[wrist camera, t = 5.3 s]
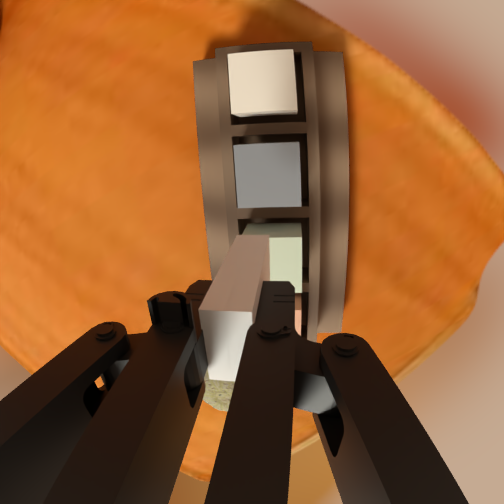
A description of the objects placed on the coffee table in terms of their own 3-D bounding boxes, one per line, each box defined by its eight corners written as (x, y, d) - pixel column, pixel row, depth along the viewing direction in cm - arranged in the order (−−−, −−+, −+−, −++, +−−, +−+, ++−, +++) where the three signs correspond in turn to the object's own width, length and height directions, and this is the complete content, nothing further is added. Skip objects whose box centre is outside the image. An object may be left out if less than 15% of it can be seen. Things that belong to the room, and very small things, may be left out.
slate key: (242, 144, 22) (233, 145, 18) (298, 141, 21) (299, 142, 18) (246, 197, 23) (237, 208, 20) (300, 196, 22) (301, 206, 19)
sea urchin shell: (209, 412, 36) (178, 416, 29) (204, 354, 40) (173, 346, 33) (278, 406, 34) (260, 412, 27) (270, 345, 38) (251, 336, 31)
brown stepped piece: (201, 67, 24) (180, 53, 19) (338, 59, 22) (348, 41, 17) (223, 317, 33) (211, 349, 27) (338, 318, 31) (344, 351, 26)
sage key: (247, 223, 24) (240, 238, 20) (300, 222, 23) (301, 237, 20) (250, 272, 25) (244, 292, 22) (301, 271, 24) (301, 292, 21)
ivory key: (237, 65, 19) (227, 54, 16) (293, 62, 19) (293, 49, 16) (240, 117, 21) (231, 113, 18) (296, 114, 20) (297, 110, 17)
